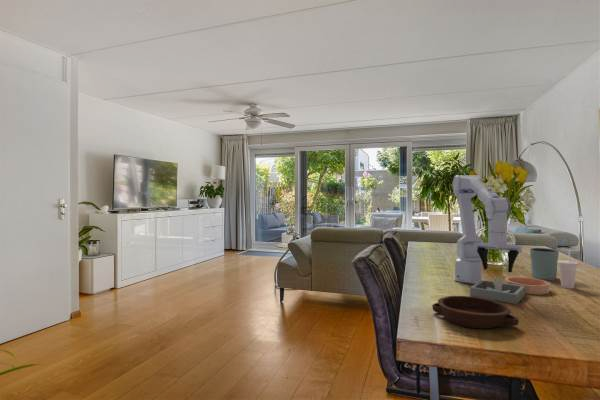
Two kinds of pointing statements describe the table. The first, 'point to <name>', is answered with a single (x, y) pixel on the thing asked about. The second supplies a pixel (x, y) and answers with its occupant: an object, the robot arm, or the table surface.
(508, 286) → the gray square frame
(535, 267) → the grey green pot
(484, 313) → the dish
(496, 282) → the pacifier
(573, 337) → the table surface
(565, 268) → the smoothie
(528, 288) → the bowl
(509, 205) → the robot arm
